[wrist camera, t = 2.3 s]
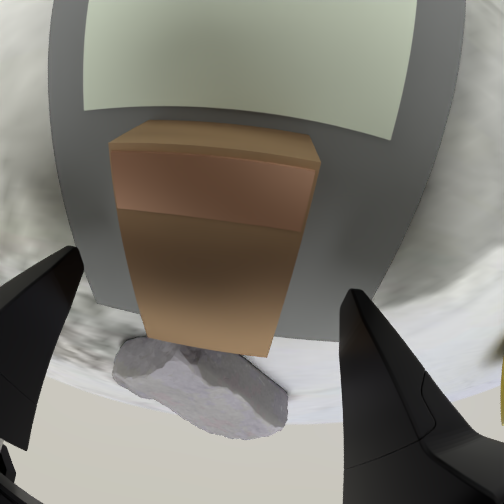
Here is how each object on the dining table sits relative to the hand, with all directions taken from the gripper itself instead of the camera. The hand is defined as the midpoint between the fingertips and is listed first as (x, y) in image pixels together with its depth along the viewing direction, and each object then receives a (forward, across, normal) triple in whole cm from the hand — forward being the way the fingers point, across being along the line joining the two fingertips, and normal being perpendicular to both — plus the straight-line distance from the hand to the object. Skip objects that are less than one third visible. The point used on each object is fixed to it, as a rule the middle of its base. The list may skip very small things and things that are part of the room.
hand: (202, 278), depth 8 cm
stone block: (+3, +1, +13) cm, 14 cm away
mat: (+3, 0, -3) cm, 4 cm away
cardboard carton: (+2, 0, 0) cm, 2 cm away
